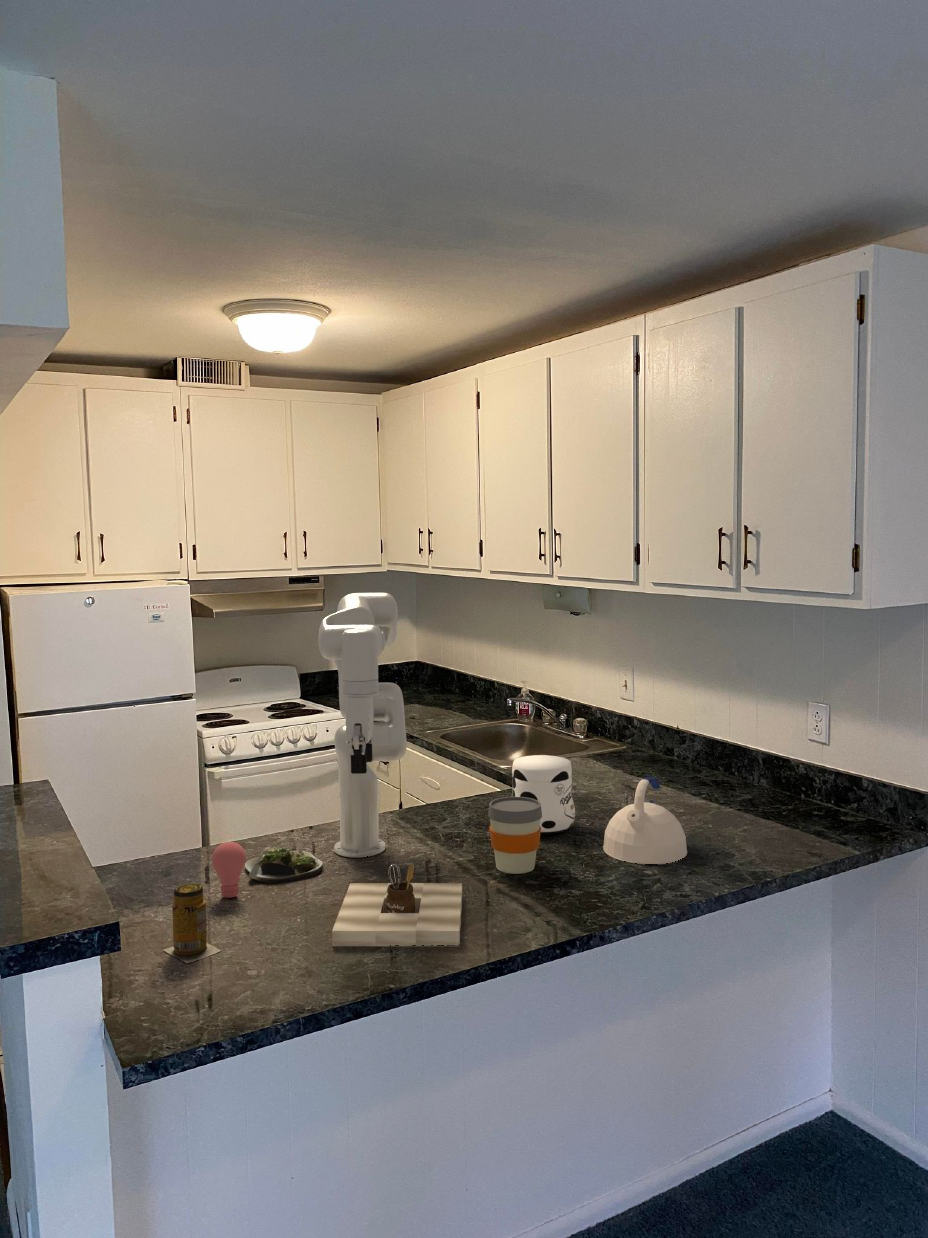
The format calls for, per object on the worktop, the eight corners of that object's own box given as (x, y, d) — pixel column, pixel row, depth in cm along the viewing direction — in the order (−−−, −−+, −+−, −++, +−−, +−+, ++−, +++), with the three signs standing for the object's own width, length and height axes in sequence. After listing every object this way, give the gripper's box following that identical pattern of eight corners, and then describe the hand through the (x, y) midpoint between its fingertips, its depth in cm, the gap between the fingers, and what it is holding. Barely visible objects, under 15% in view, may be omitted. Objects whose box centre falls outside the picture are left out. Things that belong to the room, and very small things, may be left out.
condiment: (197, 938, 178) (195, 878, 177) (221, 951, 172) (219, 889, 171) (162, 951, 173) (160, 889, 171) (186, 965, 167) (184, 901, 166)
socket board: (350, 896, 198) (350, 883, 197) (462, 896, 197) (462, 883, 197) (332, 946, 174) (332, 931, 173) (459, 946, 173) (459, 931, 173)
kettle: (590, 858, 221) (590, 784, 219) (618, 833, 239) (618, 764, 237) (674, 871, 211) (675, 794, 210) (696, 844, 230) (697, 773, 228)
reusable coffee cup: (551, 863, 217) (551, 800, 216) (527, 880, 206) (527, 815, 205) (504, 854, 223) (503, 793, 222) (478, 870, 213) (478, 807, 211)
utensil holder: (399, 911, 190) (398, 855, 189) (422, 919, 186) (421, 861, 185) (379, 921, 185) (378, 863, 184) (402, 929, 181) (401, 870, 180)
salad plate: (230, 863, 220) (230, 845, 219) (302, 851, 228) (302, 832, 228) (253, 890, 203) (253, 870, 202) (330, 875, 211) (329, 855, 211)
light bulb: (233, 888, 203) (232, 835, 202) (254, 896, 199) (252, 841, 198) (206, 898, 198) (204, 843, 197) (226, 906, 193) (224, 850, 192)
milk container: (587, 834, 238) (587, 766, 236) (526, 843, 231) (526, 773, 230) (556, 816, 254) (556, 751, 252) (498, 823, 247) (498, 757, 246)
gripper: (348, 681, 202) (350, 757, 204) (336, 694, 185) (337, 778, 187) (382, 681, 202) (384, 757, 204) (373, 694, 185) (374, 778, 186)
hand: (362, 767), depth 195 cm, fingers open, 9 cm apart
